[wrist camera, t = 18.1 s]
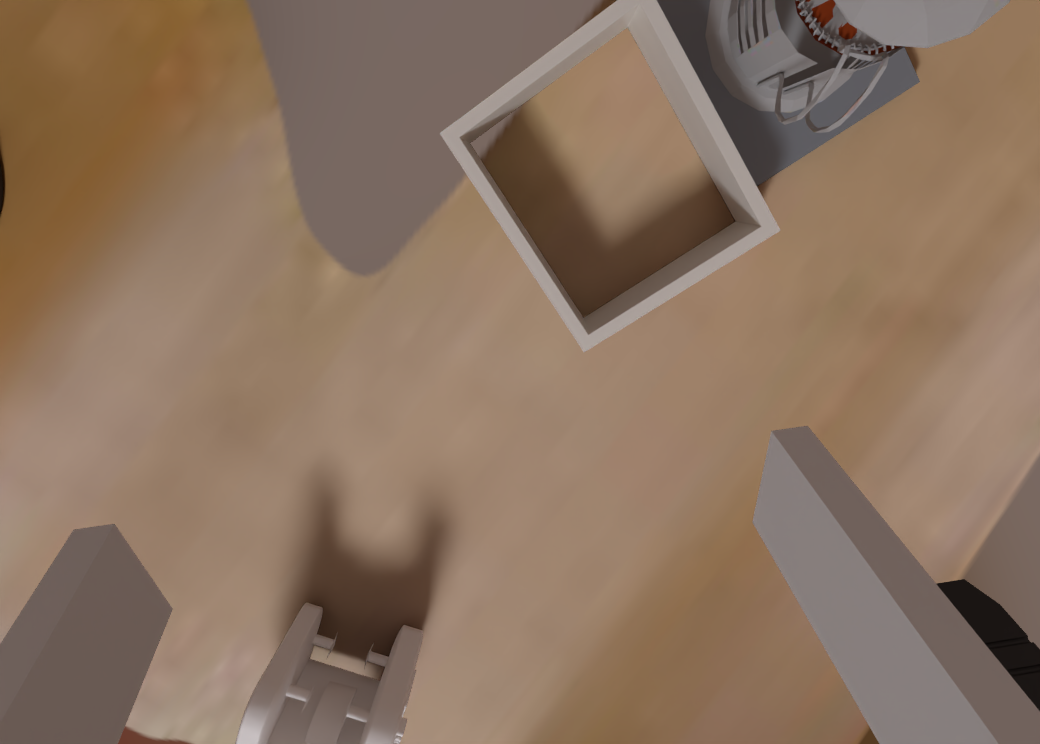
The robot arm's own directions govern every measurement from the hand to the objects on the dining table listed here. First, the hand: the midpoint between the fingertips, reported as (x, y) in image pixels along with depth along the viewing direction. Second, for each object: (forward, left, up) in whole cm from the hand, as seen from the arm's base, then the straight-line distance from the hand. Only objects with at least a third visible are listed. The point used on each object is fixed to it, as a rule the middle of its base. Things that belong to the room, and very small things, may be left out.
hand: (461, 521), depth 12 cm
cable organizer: (+19, -31, -31) cm, 47 cm away
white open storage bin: (-3, +8, -30) cm, 32 cm away
